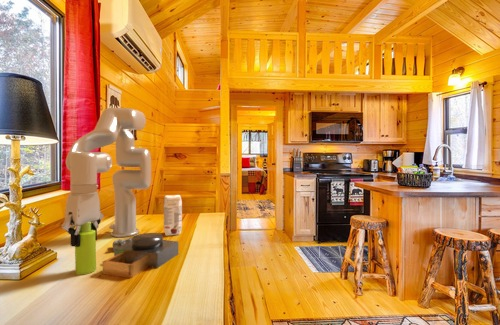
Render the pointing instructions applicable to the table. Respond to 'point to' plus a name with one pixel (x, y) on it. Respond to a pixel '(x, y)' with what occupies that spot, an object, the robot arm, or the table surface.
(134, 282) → the table surface
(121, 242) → the egg carton
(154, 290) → the table surface
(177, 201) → the juice carton
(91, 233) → the soap dispenser
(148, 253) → the grey block with dome
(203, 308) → the table surface
